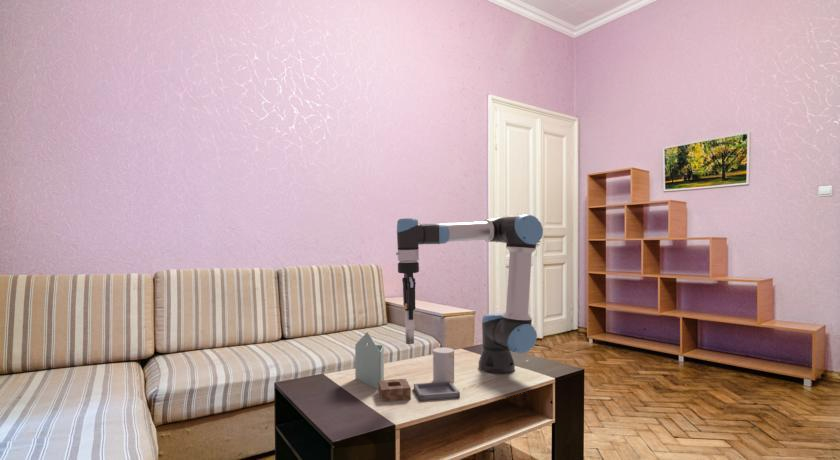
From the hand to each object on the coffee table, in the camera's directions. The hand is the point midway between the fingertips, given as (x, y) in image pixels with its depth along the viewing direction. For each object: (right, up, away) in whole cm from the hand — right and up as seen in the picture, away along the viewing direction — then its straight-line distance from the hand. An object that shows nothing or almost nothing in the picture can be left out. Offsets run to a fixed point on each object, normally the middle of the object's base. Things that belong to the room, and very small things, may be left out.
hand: (409, 327), depth 157 cm
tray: (+9, -24, +1) cm, 26 cm away
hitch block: (-5, -24, -1) cm, 24 cm away
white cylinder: (+13, -24, +14) cm, 31 cm away
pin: (0, -6, 0) cm, 6 cm away
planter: (-14, -24, +13) cm, 31 cm away
